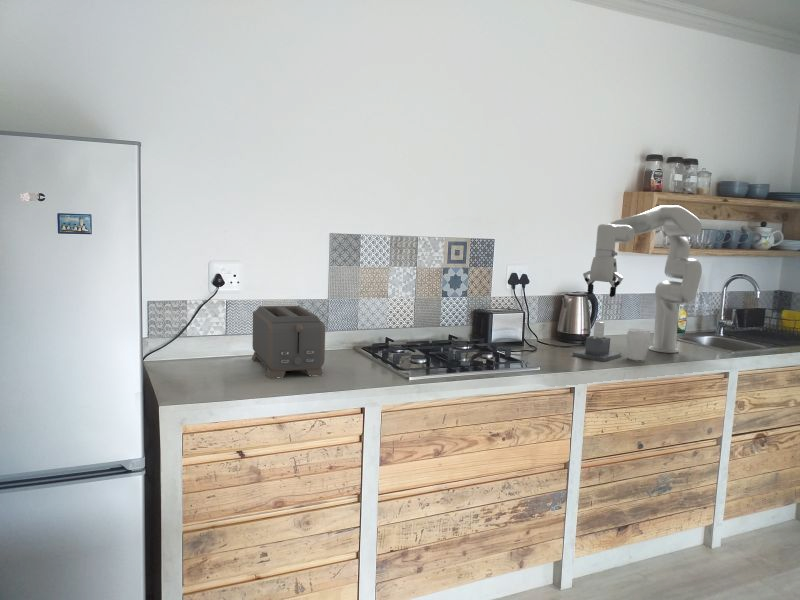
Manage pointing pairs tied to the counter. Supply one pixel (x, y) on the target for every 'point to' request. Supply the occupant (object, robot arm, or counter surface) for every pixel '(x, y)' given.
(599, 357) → the stand base
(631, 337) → the cup
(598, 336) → the column
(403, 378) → the counter surface
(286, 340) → the toaster
